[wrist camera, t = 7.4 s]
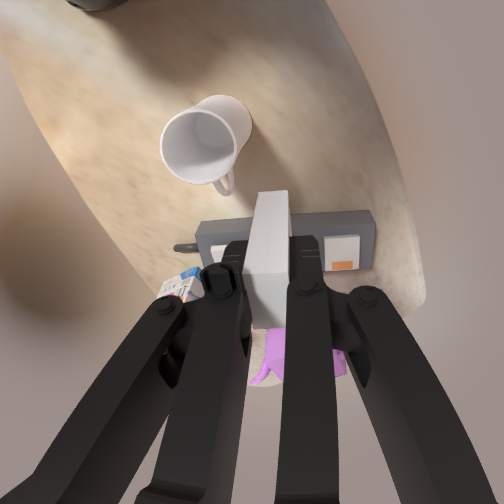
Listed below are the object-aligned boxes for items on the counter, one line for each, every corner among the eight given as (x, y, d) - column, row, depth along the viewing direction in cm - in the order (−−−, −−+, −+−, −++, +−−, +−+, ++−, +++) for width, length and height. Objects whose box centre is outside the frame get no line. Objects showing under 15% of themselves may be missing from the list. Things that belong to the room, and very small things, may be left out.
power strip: (169, 224, 48) (160, 237, 45) (369, 210, 43) (375, 223, 40) (181, 264, 53) (175, 279, 50) (366, 254, 48) (371, 269, 44)
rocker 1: (211, 245, 44) (210, 251, 43) (245, 243, 43) (245, 249, 42) (219, 268, 47) (218, 274, 46) (251, 267, 46) (250, 273, 46)
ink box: (198, 265, 53) (180, 313, 43) (224, 297, 56) (212, 347, 47) (163, 280, 56) (141, 326, 46) (189, 310, 60) (173, 356, 50)
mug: (263, 169, 41) (255, 207, 32) (205, 180, 43) (181, 219, 33) (244, 88, 35) (227, 97, 25) (183, 103, 37) (147, 120, 27)
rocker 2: (323, 236, 42) (324, 239, 41) (358, 234, 41) (359, 237, 40) (324, 268, 44) (325, 271, 43) (357, 266, 43) (359, 269, 42)
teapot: (338, 294, 53) (346, 349, 43) (353, 327, 58) (361, 378, 48) (242, 324, 60) (234, 376, 50) (265, 351, 65) (260, 400, 55)
